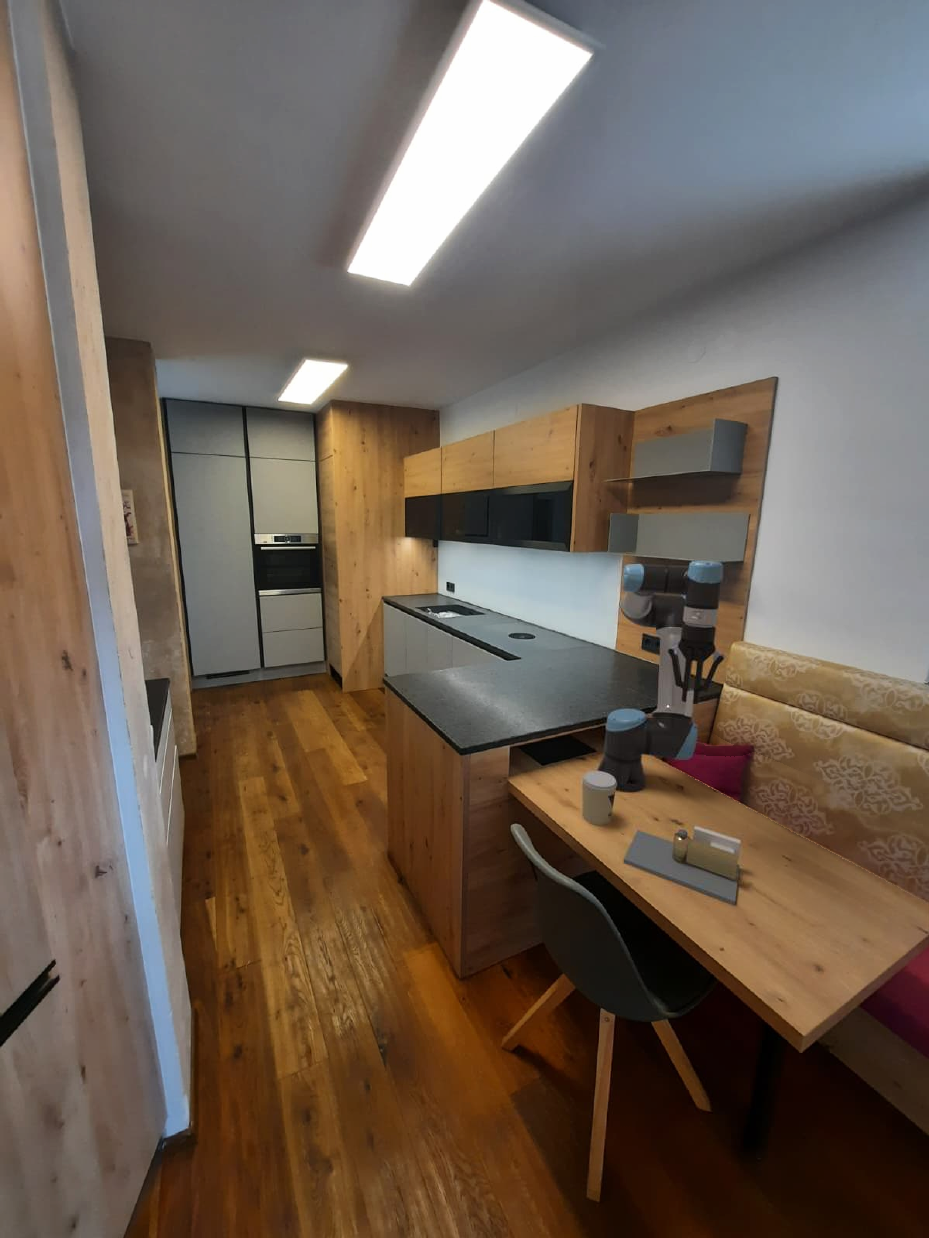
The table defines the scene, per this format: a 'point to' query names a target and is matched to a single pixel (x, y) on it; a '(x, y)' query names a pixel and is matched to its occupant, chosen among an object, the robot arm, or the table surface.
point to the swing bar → (705, 856)
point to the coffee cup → (598, 797)
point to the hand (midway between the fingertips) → (688, 714)
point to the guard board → (659, 861)
